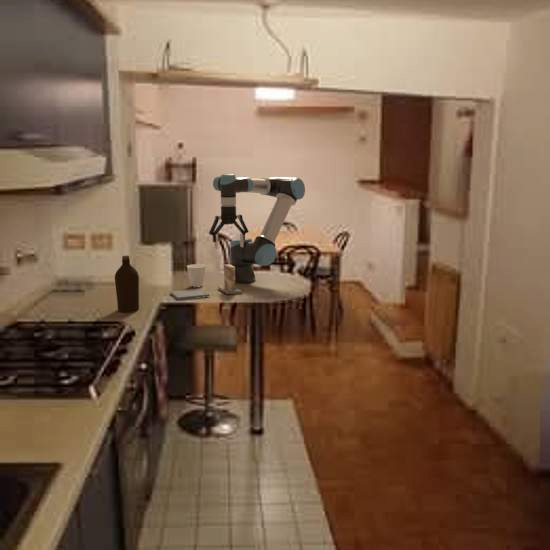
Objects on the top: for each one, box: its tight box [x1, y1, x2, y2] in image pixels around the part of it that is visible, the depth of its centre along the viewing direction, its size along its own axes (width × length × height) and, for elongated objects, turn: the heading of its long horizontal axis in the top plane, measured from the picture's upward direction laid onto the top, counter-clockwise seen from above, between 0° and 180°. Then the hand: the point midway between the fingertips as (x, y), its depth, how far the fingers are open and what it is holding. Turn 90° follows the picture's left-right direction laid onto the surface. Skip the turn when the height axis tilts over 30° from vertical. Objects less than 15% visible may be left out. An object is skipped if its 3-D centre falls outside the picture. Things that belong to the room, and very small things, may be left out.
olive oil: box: [114, 255, 140, 313], centre depth 280 cm, size 11×11×25 cm
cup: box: [186, 263, 206, 288], centre depth 327 cm, size 10×10×11 cm
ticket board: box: [169, 287, 210, 301], centre depth 309 cm, size 16×14×2 cm
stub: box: [217, 263, 243, 295], centre depth 316 cm, size 8×14×13 cm, turn 24°
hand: (229, 247), depth 312 cm, fingers open, 13 cm apart
